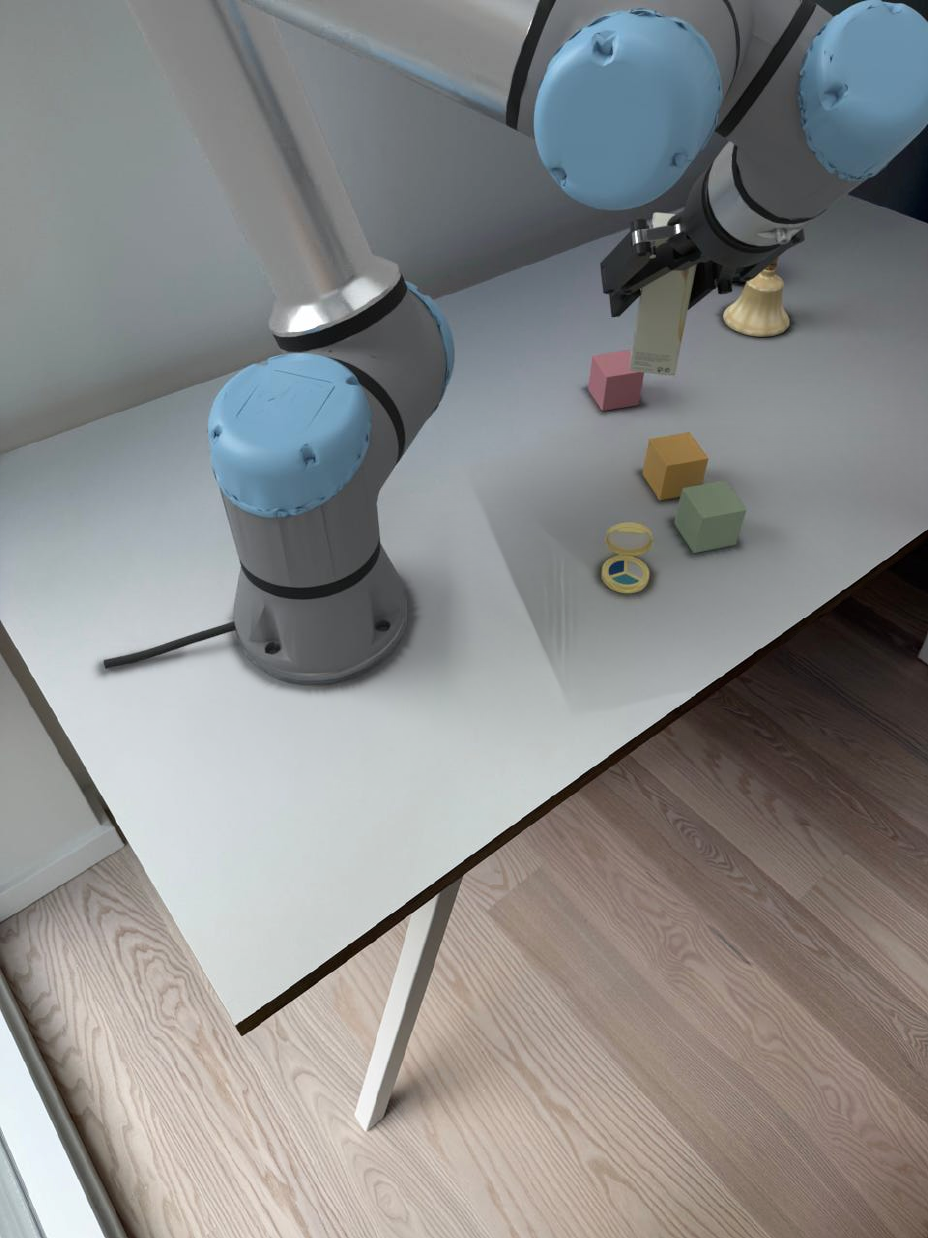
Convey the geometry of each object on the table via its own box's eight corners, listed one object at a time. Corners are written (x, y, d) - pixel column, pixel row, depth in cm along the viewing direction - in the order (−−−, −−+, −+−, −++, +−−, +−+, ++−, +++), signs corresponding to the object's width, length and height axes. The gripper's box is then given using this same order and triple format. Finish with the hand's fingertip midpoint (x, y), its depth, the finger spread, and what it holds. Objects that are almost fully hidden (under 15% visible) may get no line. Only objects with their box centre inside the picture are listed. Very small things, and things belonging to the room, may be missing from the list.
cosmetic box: (675, 378, 82) (701, 247, 72) (627, 372, 82) (647, 242, 73) (679, 341, 86) (704, 213, 77) (633, 336, 86) (653, 209, 77)
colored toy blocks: (693, 553, 86) (702, 518, 82) (587, 389, 104) (592, 355, 101) (735, 544, 87) (746, 509, 83) (623, 383, 105) (629, 349, 101)
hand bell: (721, 332, 112) (751, 204, 100) (724, 300, 118) (753, 174, 106) (788, 341, 111) (827, 212, 99) (789, 307, 116) (826, 181, 104)
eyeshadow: (600, 590, 82) (606, 552, 79) (602, 553, 86) (608, 514, 82) (648, 595, 82) (657, 557, 78) (648, 557, 85) (656, 519, 82)
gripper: (628, 261, 60) (554, 348, 83) (892, 239, 62) (748, 330, 85) (616, 147, 59) (544, 266, 82) (883, 128, 61) (740, 250, 84)
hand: (648, 298), depth 83 cm, fingers closed on cosmetic box, 6 cm apart
